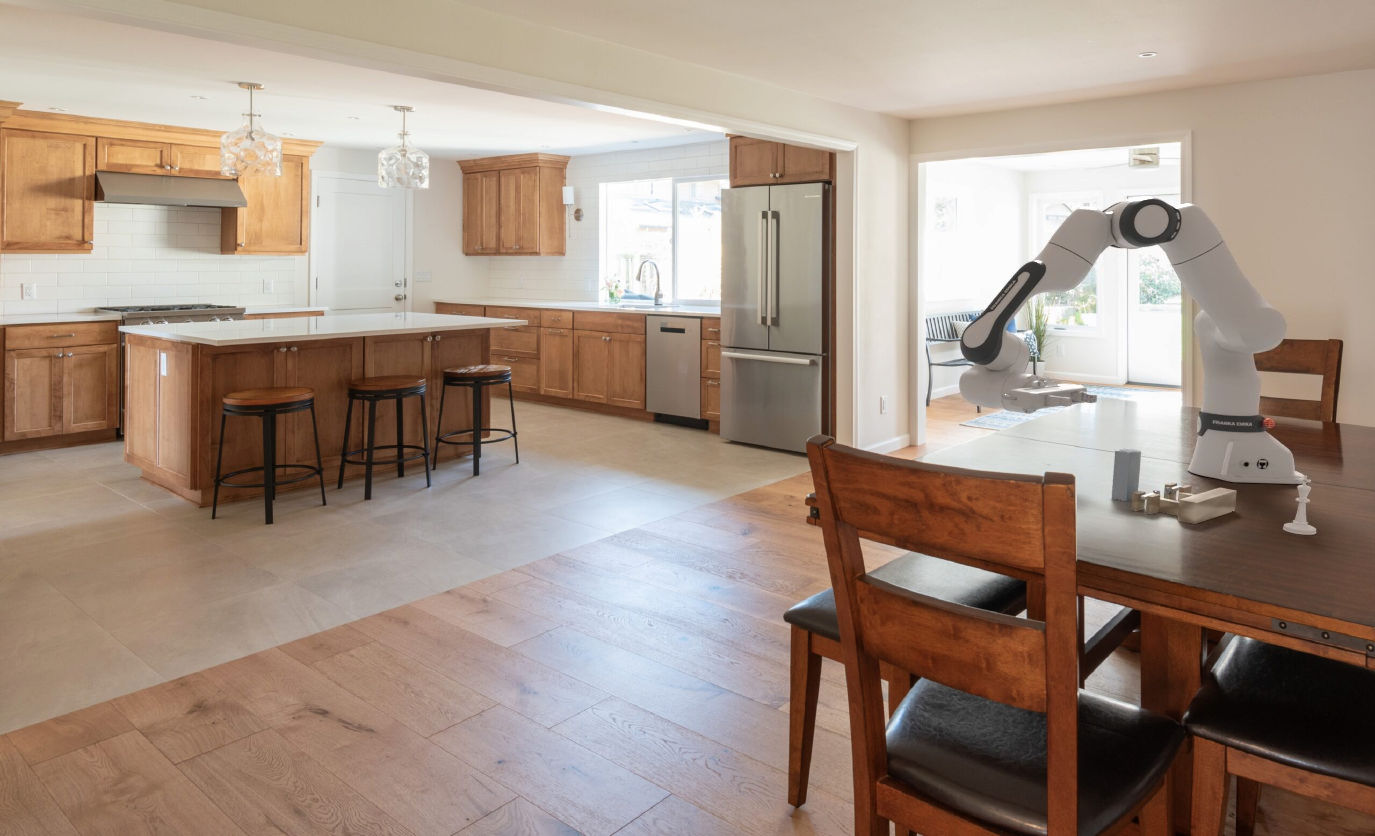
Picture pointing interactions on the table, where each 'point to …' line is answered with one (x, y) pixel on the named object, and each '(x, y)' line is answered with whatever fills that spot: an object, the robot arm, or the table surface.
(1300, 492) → the chess piece
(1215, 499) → the light wooden frame
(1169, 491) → the plunger
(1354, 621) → the table surface
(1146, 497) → the plunger
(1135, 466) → the peg
